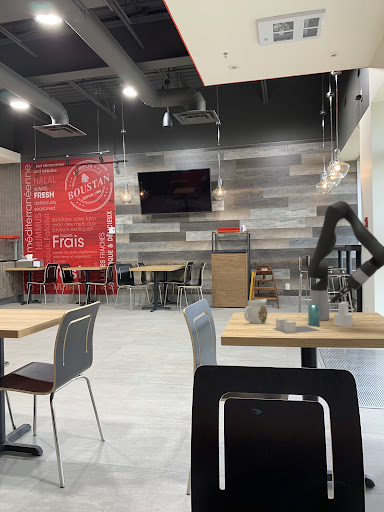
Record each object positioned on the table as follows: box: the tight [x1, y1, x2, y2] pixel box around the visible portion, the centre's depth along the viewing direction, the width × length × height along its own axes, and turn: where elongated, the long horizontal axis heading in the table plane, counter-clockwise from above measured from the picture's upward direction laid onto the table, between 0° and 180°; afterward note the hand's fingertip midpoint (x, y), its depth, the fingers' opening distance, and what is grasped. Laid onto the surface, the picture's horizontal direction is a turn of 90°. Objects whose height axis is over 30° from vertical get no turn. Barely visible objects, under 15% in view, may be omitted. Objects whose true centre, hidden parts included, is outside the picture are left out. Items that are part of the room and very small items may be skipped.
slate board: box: [272, 325, 321, 335], centre depth 211 cm, size 19×14×2 cm
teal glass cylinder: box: [307, 303, 321, 328], centre depth 222 cm, size 6×6×12 cm
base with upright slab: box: [334, 301, 353, 327], centre depth 230 cm, size 9×9×12 cm
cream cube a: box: [284, 320, 297, 334], centre depth 205 cm, size 4×4×5 cm
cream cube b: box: [275, 317, 288, 331], centre depth 213 cm, size 4×4×5 cm
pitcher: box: [243, 298, 268, 325], centre depth 233 cm, size 11×18×14 cm, turn 131°
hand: (333, 300), depth 217 cm, fingers open, 8 cm apart
